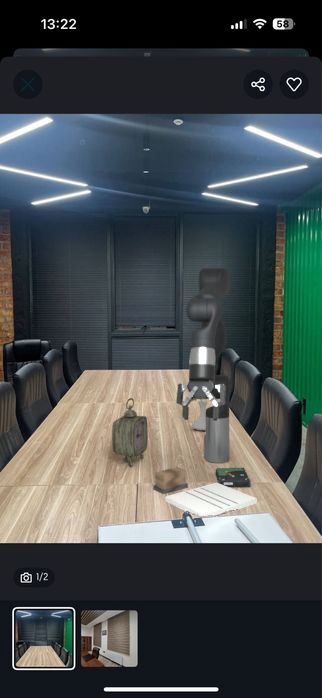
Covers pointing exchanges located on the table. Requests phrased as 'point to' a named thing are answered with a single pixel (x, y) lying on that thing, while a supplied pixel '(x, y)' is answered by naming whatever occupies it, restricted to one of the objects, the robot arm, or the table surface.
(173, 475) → the sanding block
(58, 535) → the table surface
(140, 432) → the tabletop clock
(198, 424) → the flower in vase
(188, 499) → the board
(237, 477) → the disk drive
